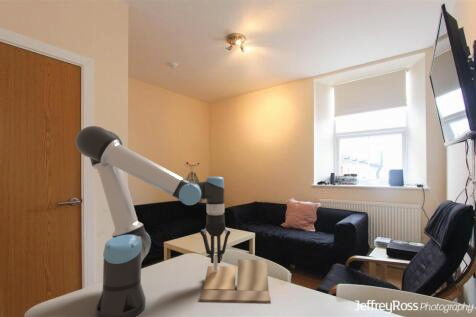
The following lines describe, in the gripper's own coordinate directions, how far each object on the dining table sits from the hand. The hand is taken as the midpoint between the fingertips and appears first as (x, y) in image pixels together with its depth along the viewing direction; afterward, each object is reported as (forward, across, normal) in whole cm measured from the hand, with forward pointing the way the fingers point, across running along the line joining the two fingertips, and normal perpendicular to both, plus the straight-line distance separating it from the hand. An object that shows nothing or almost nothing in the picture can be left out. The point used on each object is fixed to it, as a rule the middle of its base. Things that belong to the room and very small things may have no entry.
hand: (215, 270), depth 101 cm
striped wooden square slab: (+3, +2, -2) cm, 4 cm away
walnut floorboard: (+5, +8, -12) cm, 16 cm away
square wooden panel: (+1, +15, -3) cm, 15 cm away
